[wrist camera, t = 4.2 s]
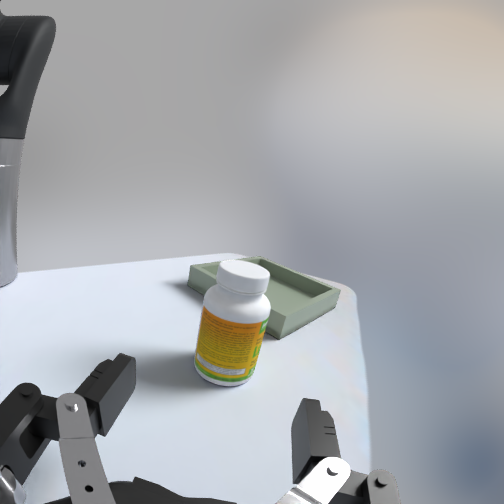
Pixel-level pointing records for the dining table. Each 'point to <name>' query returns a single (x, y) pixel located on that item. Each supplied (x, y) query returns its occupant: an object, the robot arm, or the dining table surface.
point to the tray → (278, 294)
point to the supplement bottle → (232, 323)
